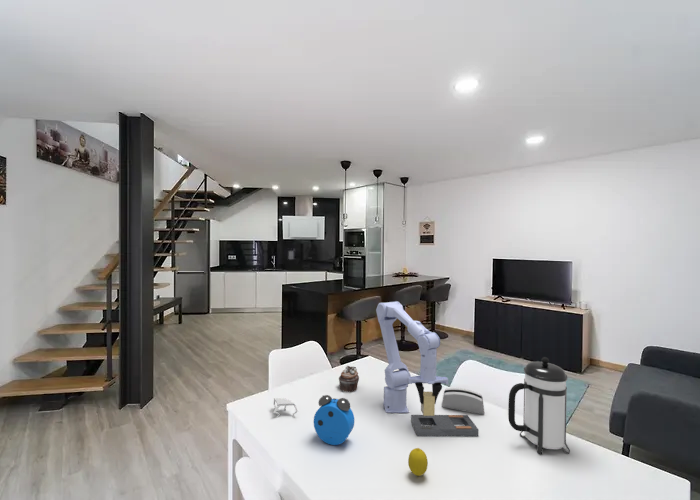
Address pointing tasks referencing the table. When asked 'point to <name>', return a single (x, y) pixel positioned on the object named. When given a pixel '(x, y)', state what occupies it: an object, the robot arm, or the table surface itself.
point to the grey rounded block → (463, 400)
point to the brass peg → (428, 404)
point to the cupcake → (349, 379)
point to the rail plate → (444, 425)
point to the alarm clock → (333, 420)
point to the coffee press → (542, 405)
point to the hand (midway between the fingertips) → (427, 402)
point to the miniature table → (283, 404)
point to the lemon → (417, 462)
